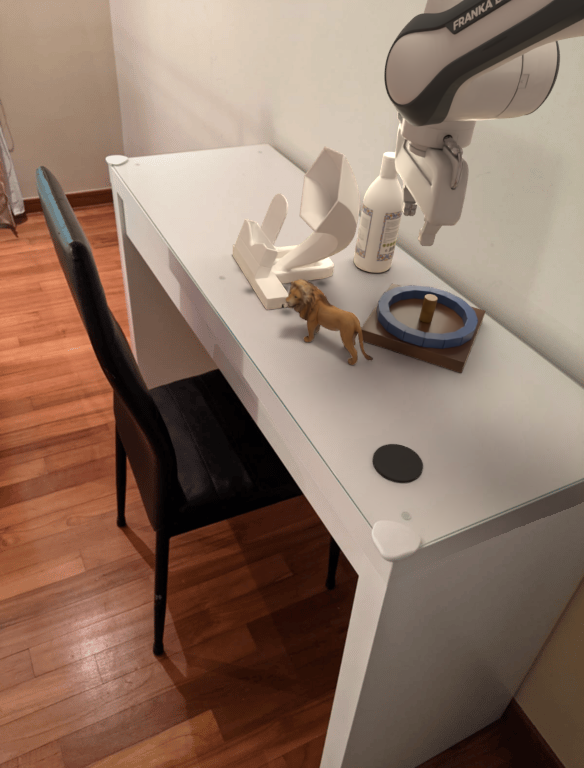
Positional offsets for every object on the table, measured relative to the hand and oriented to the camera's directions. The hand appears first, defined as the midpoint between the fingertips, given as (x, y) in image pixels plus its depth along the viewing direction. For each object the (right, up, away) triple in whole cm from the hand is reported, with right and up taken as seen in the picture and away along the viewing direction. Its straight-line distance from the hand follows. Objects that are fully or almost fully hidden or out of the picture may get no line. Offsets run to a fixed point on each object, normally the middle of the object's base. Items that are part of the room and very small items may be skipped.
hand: (415, 228), depth 85 cm
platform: (+3, -13, +12) cm, 18 cm away
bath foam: (-3, 0, +27) cm, 27 cm away
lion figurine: (-12, -16, +6) cm, 21 cm away
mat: (-5, -31, -11) cm, 33 cm away
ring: (+4, -12, +11) cm, 16 cm away
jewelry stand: (-16, -5, +19) cm, 26 cm away
